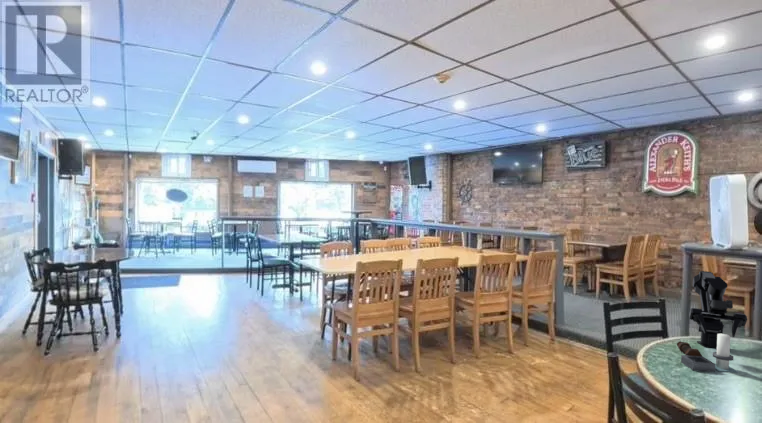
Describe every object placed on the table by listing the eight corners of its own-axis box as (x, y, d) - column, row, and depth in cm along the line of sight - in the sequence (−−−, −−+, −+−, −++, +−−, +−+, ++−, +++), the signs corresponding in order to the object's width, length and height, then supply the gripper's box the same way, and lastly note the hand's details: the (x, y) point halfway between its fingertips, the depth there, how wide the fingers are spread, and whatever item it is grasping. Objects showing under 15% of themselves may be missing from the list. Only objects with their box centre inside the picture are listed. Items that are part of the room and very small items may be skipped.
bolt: (682, 353, 187) (696, 365, 173) (671, 346, 188) (683, 357, 174) (690, 342, 186) (704, 353, 172) (679, 335, 187) (692, 346, 173)
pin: (707, 364, 169) (709, 332, 169) (721, 363, 170) (723, 332, 169) (722, 371, 163) (724, 338, 162) (737, 370, 164) (738, 337, 163)
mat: (706, 364, 170) (706, 363, 170) (725, 365, 169) (725, 364, 169) (718, 371, 163) (718, 370, 163) (738, 372, 162) (738, 371, 162)
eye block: (681, 362, 172) (681, 355, 172) (702, 363, 171) (702, 356, 171) (692, 370, 164) (693, 362, 164) (715, 371, 163) (715, 364, 163)
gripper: (691, 289, 181) (694, 321, 172) (747, 295, 171) (753, 329, 162) (687, 303, 188) (690, 334, 179) (741, 309, 179) (747, 342, 170)
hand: (719, 334), depth 172 cm, fingers open, 9 cm apart
